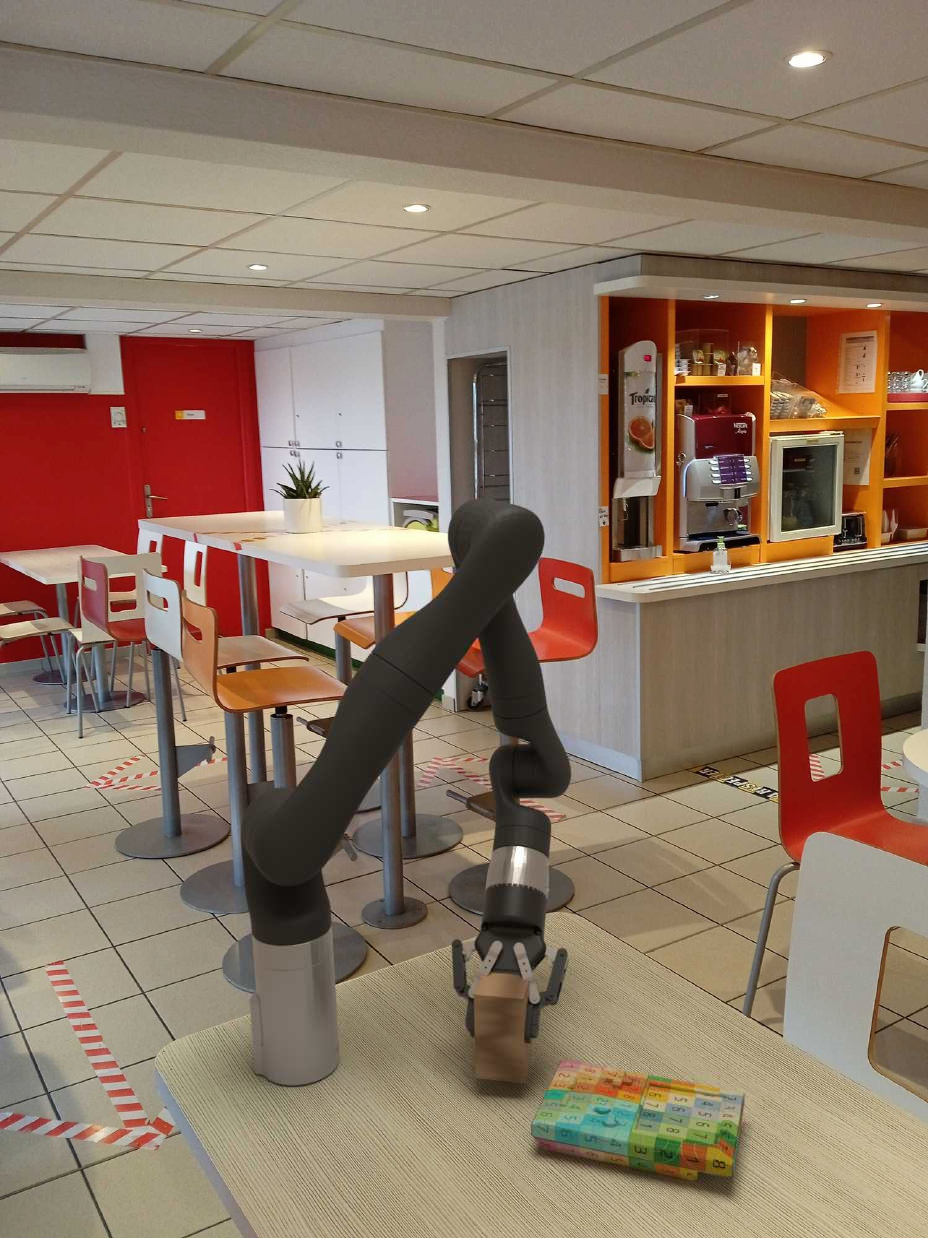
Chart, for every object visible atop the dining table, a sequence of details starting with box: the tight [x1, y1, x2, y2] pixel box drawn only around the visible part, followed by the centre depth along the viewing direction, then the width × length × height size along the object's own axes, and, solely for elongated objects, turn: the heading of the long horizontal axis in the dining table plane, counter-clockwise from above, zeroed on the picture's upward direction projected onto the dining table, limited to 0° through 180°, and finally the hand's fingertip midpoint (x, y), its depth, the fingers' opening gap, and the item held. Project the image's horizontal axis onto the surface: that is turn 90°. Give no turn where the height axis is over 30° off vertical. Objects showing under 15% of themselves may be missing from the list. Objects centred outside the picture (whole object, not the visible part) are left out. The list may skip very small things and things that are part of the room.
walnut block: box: [474, 972, 532, 1084], centre depth 116 cm, size 6×6×10 cm
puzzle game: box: [530, 1058, 746, 1181], centre depth 107 cm, size 12×5×20 cm
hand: (500, 1038), depth 115 cm, fingers closed on walnut block, 5 cm apart
